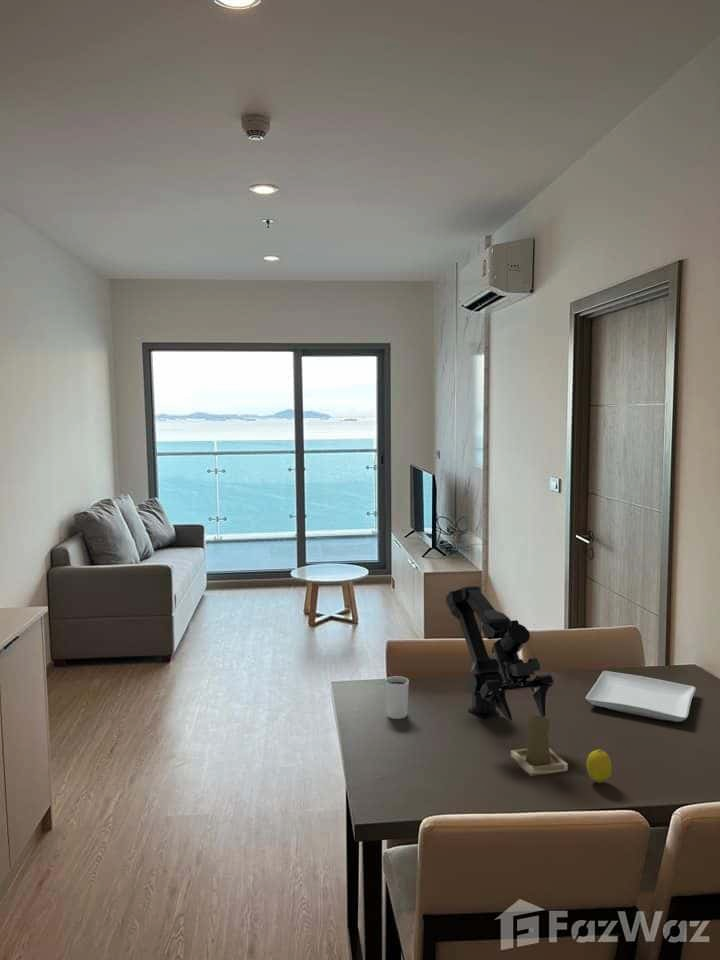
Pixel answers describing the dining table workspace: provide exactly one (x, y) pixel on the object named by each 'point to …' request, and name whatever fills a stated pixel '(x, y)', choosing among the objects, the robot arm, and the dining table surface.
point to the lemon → (599, 766)
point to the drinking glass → (396, 697)
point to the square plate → (642, 696)
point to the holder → (555, 766)
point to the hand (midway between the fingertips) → (527, 718)
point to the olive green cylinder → (538, 742)
